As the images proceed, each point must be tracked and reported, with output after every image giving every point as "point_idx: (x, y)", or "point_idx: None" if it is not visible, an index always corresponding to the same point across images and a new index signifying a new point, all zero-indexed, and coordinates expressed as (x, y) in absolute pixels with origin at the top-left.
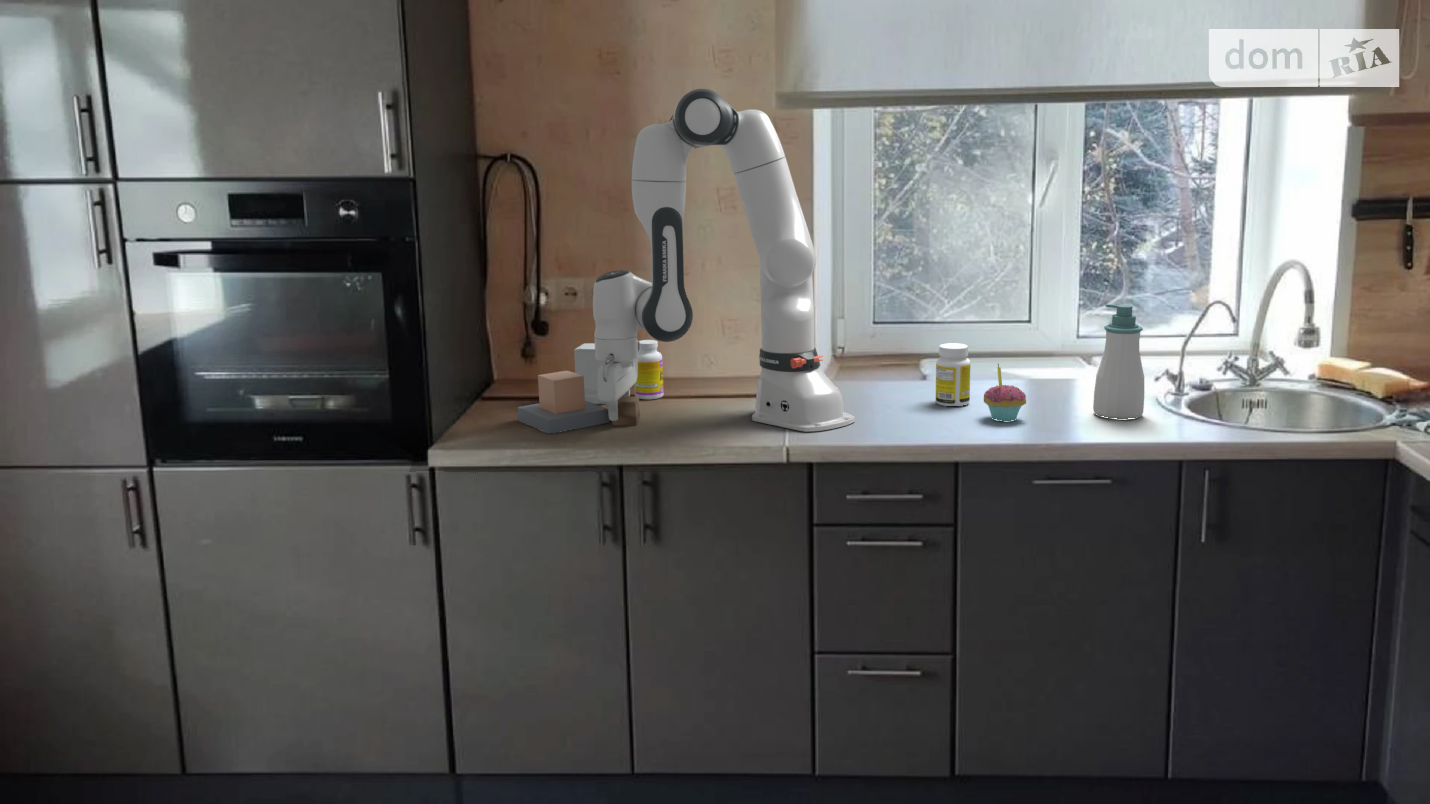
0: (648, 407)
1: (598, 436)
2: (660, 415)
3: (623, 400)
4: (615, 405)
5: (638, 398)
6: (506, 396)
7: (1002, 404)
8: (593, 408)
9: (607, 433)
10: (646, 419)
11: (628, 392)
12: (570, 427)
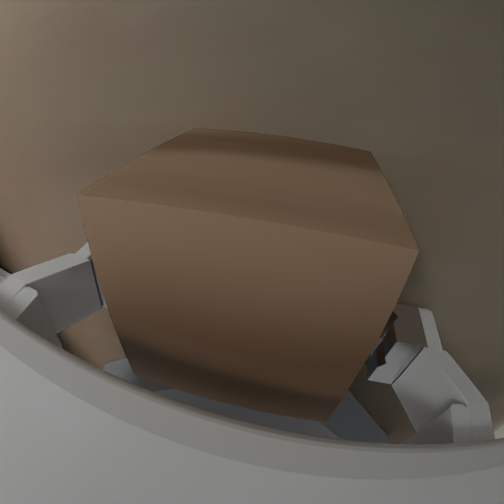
0: (6, 128)
1: (497, 341)
2: (113, 14)
3: (279, 361)
4: (485, 408)
5: (121, 191)
6: None
7: None
8: (248, 412)
9: (479, 314)
10: (207, 80)
11: (36, 297)
12: (365, 418)
